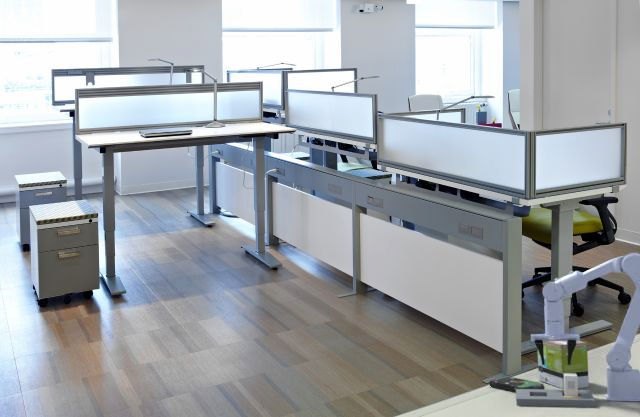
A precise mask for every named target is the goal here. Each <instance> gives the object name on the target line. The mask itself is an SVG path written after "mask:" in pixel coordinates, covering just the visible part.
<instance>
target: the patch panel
mask: <svg viewBox="0 0 640 417" xmlns="http://www.w3.org/2000/svg"><path fill="white" fill-rule="evenodd" d="M515 398H516V399H515V400H516V406H519V407H521V406H523V407H524V406H526V407H530V406H531V407H533V406H534V407H563V408H564V407H566V408H567V407H569V408H576V407H577V408H596V399H595V397H594V396H593V393H592V392H591V390H590V389H578V397H570V396H564V389H516V393H515Z"/></svg>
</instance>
